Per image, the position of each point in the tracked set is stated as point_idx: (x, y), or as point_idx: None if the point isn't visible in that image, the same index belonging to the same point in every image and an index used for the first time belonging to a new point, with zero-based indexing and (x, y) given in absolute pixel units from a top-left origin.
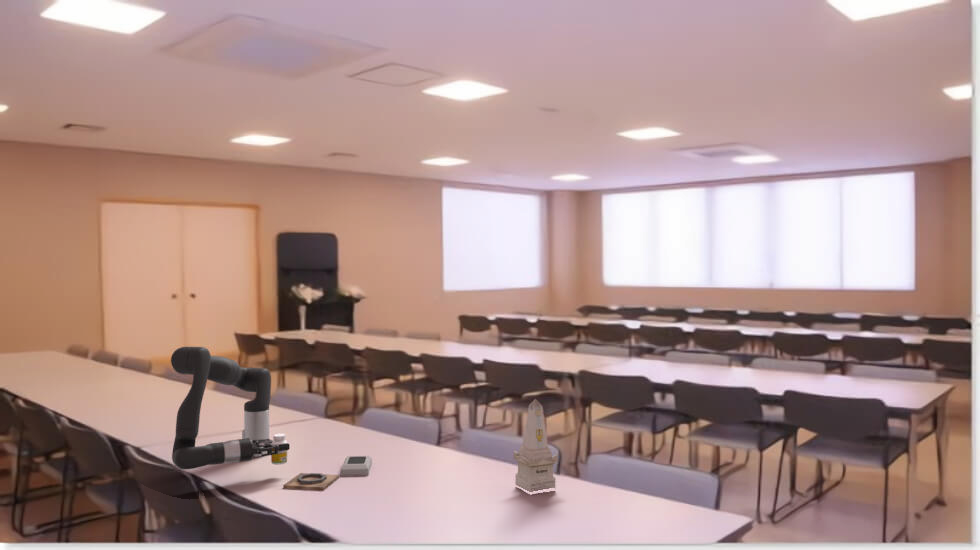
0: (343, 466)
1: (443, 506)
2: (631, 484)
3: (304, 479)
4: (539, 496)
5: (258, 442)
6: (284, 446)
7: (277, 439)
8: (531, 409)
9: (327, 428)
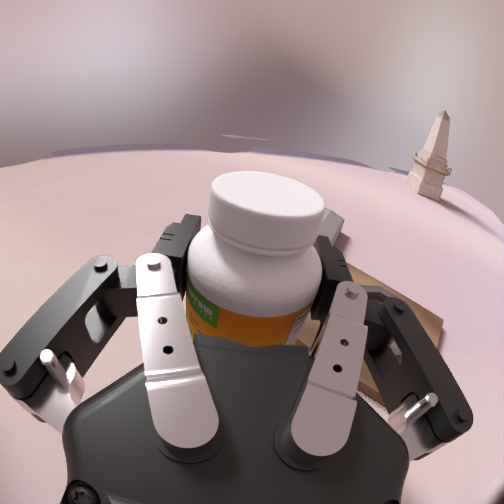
0: (322, 233)
1: (480, 245)
2: None
3: None
4: (440, 200)
5: (218, 420)
6: (344, 268)
7: (314, 239)
8: (446, 120)
9: (10, 175)
